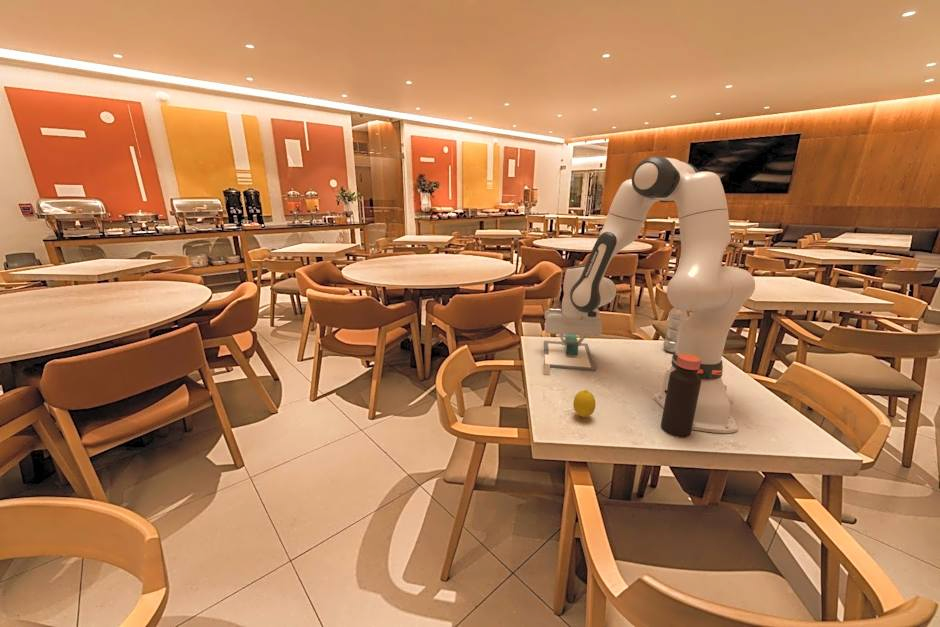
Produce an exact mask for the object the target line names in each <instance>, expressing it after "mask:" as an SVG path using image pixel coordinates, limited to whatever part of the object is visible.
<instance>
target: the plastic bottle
mask: <svg viewBox="0 0 940 627" xmlns="http://www.w3.org/2000/svg"><path fill="white" fill-rule="evenodd" d="M688 317H689V316H688V311H684V310H679V309H677V308H675V307H674V306H673V308H671V310H670V311H669V312H668V317H667V318H668V319H667V320H668V323H667V324H668V325H667V332H666V334H665V339H664V340H663V349H664V350H665V351H666V352H668V353H672V354H673V353H674V351H676V345H677V340H678V334H679V329H680V326H681V325H682V323H683V322H684V321H685V320H686V319H687V318H688Z"/></svg>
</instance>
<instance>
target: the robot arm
mask: <svg viewBox="0 0 940 627" xmlns="http://www.w3.org/2000/svg"><path fill="white" fill-rule="evenodd" d="M657 202H661V203H671V202H672V203H675V205H676V208H677V214H678V216H677V217H678V223H679V236H680V237H679V238H680V255H679V260H678V265H677V269H676V272H674V275H673V277H672V278H670V280H669V281H668V284H667V287H666V295H667V299H668V302H669V303H670V304H671V306H672V307H673V308H674V307H675V308H677V309H679V310H684V311H686V312H690V313H689V314H690V315H689V316H688V317H687V319H686V320H685V321H684V322H683V323H682V325H681V326H680V329H679V334H678V340H677V345H676V351H674V353H672V356H671V366H670V367H669V368H668V370H665V372H664V373H663V377H662V380H661V384H660V390H659V392H657V393H654V395H653V399H654V400H655V402H656V403H658V404H659V406H661V407H662V409H664V404H665V399H666V393H667V388H668V382H669V376H670V373H671V372H672V371H674V370H675V369H677V366H676V362H677V357H678V355H679V354H691V355H695V356H697V357H699V358H700V359H701V364H700V368H699V371H697V374H698V375H699V376H700V378H701V379H702V381H701V386H700V391H699V396H698V401H697V406H696V410H695V415H694V420H693V425H692V430H695V431H699V432H706V433H716V434H731V433H736V432H738V430H739V429H738V428H739V427H738V425H737V423H736V421H735V418H734V416H733V415H732V413H731V405H733V404H734V397H733V396H732V395H728V394H727V385H725V384H724V381H723V379H722V376H723V372H724V371H723V369H724V366H723V359H722V358H723V354H724V349H725V347H726V346H725V345H726V340H727V336H728V335H729V332H730V329H731V327H732V326H733V323H734V322H735V320H736V318H737V316H738V314H739V312H740V311H741V309H742V308H743V306H744V304H745V303H746V302H747V301H748V300H749V299H750V298H751V297H752V295H753V294H754V293H755V290H756V280H755V278H754V277H753V275H752V274H751V273H750V272H749V271H748V270H746V269H743V268H741V267H740V268H739V267H737V266H732V265H730V266H729V265H724V266H722V263H723V257H724V253H725V250H726V249H727V248H728V246H729V245H730V243H731V241H732V234H731V226H730V217H729V209H728V203H727V197H726V193H725V190H724V185H723V184H722V181H721V178H720V176H719V175H718V174H717V173H715V172H712V171H699V170H698V169H697V168H696V167H695V166H694V165H693V164H690V163H688V162H684V161H680V160H679V159H677V158H673V157H663V156H651V157H648V158H645V159H643V160H642V161H640V162H639V163H638V164H637V165H636V167H635V168H634V170H633V171H632V175H631V178H630V179H629V178H628V179H626V180H625V181H623V182H622V183H621V184H620V186H619V187H618V189H617V191H616V193H615V195H614V197H613V200H612V202H611V205H610V206H609V210H608V212H607V216H606V218H605V222H604V224H603V226H602V229H601V231H600V232H599V233H600V234H599V236H598V237H597V239H596V241H595V243H594V245H593V248H592V249H591V251H590V255H589V257H588V258H587V262H586V263H585V264H584V265H583V264H582V265H580V264H579V265H574V266H573V265H572V266H570V267H568V268H567V269H566V271H565V274H564V277H563V278H564V279H563V285H562V286H563V287H562V291H563V297H562V298H561V299H562V300H561V308H552V307H551V308H548V309H546V310H545V311H544V319H545V323H544V331H545V333H546V334H551V335H552V334H554V335H555V334H556V335H558V336H559V339H560V340H561V342H562V345H566V340H565V338H564V336H565V334H569V335H576V336H580V338H579V339H577V341H578V346H581V343H583V341H584V340H585V338H586V336H589V337H590V336H591V337H600V336H601V334H602V329H603V328H602V321H601V318H600V314H601V313H600V312H601V311H600V310H599V308H600V307H603V306H605V305H608V304H609V303H610V302H611V303H612V301H614V300H615V298H616V296H617V287H616V286H617V285H616V284H615V282H614V281H613V280H612V279H611V278H609V277H605V274H606V272H607V270H608V267H609V265H610V262H611V261H612V260H613V258H614V257H616V255H617V254H618V253H619V252H620V251H622V250H623V249H624V248H626V247H627V246H629V245H631V244H632V243H633V242H635V241H636V240H637V237H638V236H639V235H640V232H641V230H642V228H643V226H644V224H645V221H646V218H647V215H648V213H649V210H650V208H651V207H652V206H653V205H654V204H655V203H657Z"/></svg>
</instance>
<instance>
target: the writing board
mask: <svg viewBox="0 0 940 627" xmlns="http://www.w3.org/2000/svg"><path fill="white" fill-rule="evenodd" d="M543 348H544V349H543V351H544V352H543V353H544V354H543V355H544V356H543V357H545V354H548V355H549V356H550V369H562V370H573V371H574V370H575V371H588V372H597V367H596V365H595V362H594V359H593V356H592V353H591V350H590V347H589V344H588V343H583V342H581V346H578V355H566V351H565V345H562V341H555V340H553V341H551V340H543Z"/></svg>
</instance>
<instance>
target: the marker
mask: <svg viewBox="0 0 940 627" xmlns="http://www.w3.org/2000/svg"><path fill="white" fill-rule="evenodd" d="M564 340H566V345H565V351H566V355H578V341H577V340H578V338H577V335H569V334H564Z"/></svg>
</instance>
